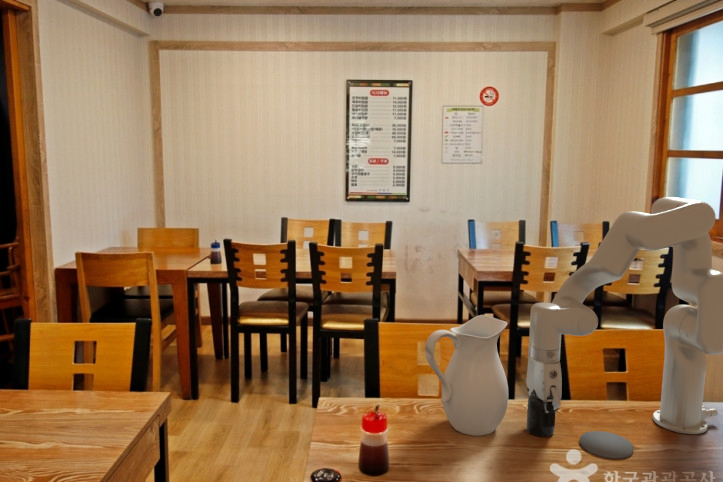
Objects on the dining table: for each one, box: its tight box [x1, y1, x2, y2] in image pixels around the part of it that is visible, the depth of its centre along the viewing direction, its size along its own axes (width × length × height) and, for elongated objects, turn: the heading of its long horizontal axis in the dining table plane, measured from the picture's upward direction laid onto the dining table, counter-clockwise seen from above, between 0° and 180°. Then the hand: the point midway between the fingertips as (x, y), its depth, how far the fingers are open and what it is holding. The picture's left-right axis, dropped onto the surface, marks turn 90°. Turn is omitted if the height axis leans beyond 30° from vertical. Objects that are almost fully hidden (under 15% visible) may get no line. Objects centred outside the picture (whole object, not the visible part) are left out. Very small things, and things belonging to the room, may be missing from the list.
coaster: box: [579, 430, 634, 460], centre depth 141 cm, size 12×12×1 cm
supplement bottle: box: [526, 389, 555, 438], centre depth 148 cm, size 7×7×12 cm
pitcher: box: [424, 314, 509, 437], centre depth 148 cm, size 24×17×28 cm
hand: (540, 419), depth 148 cm, fingers closed on supplement bottle, 6 cm apart
